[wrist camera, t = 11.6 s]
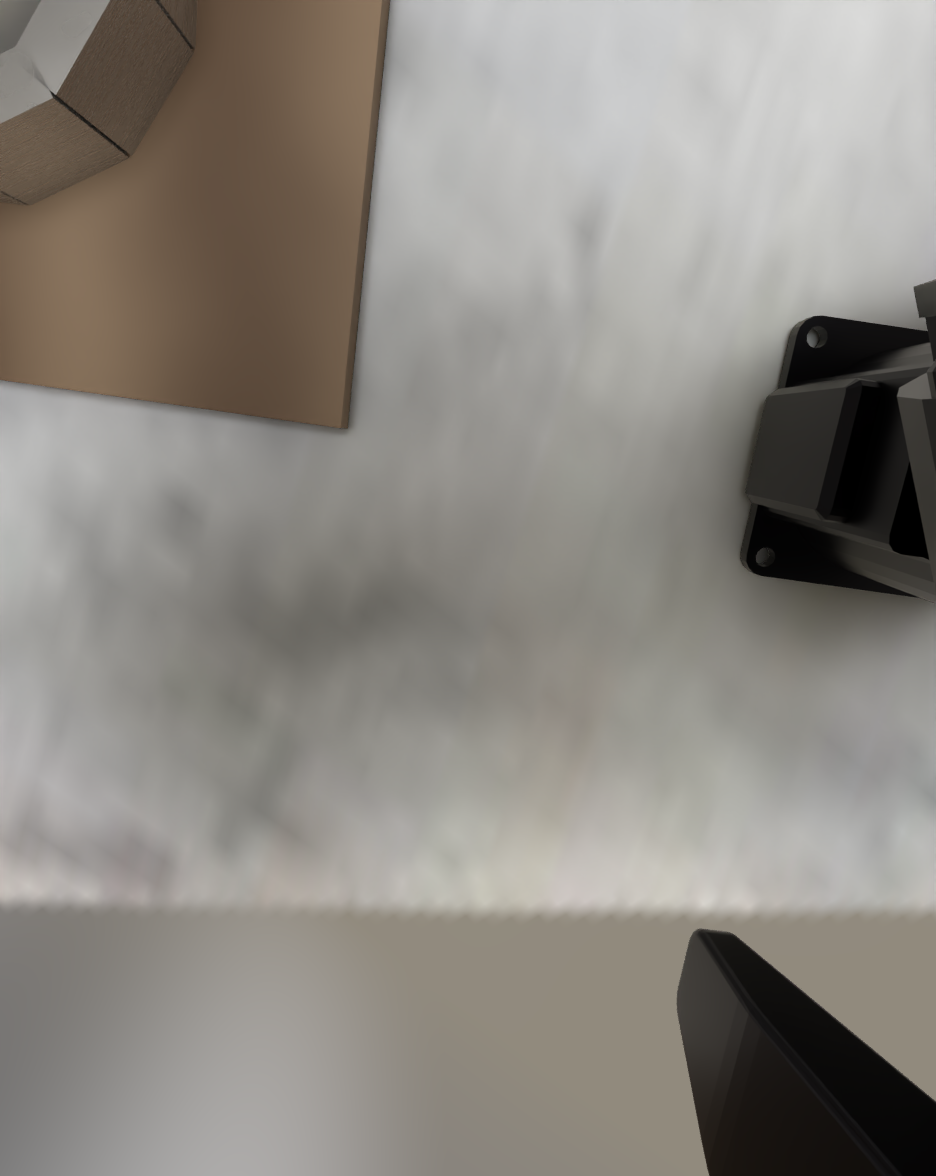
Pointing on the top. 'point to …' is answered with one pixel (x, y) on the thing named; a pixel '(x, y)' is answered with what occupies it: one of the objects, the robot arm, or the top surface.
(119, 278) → the base plate
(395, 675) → the top surface
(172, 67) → the ring collar
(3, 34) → the can
